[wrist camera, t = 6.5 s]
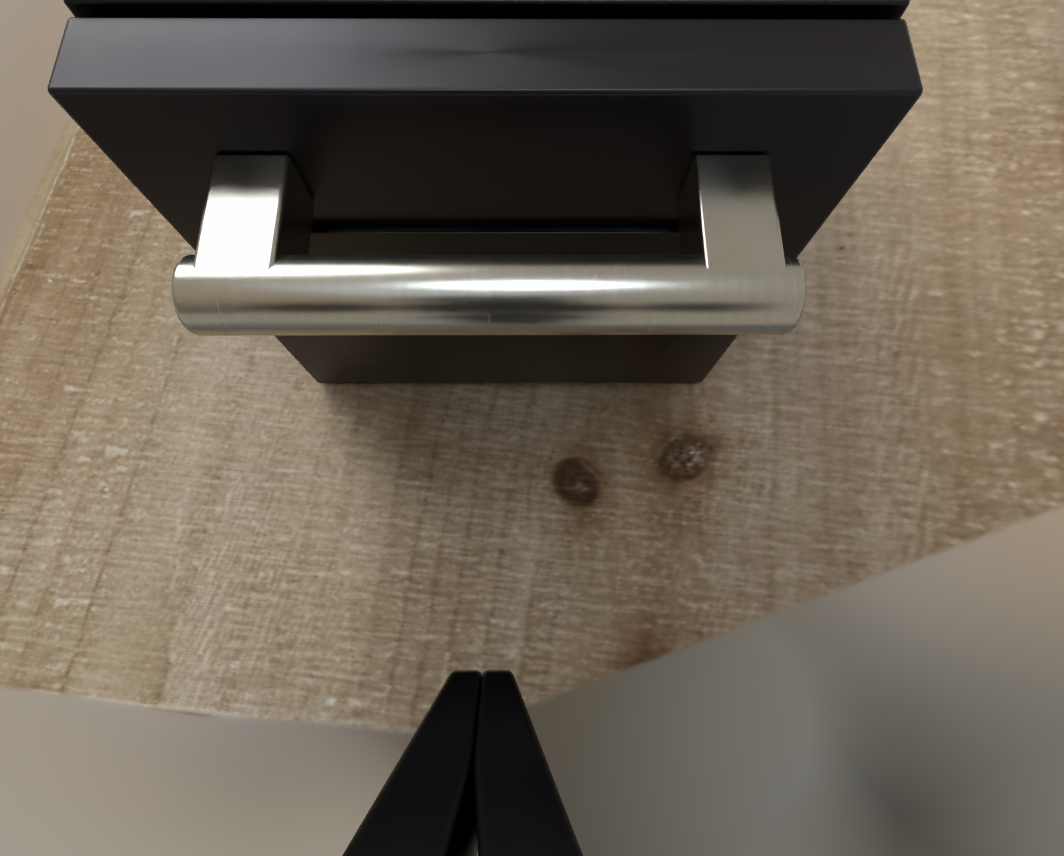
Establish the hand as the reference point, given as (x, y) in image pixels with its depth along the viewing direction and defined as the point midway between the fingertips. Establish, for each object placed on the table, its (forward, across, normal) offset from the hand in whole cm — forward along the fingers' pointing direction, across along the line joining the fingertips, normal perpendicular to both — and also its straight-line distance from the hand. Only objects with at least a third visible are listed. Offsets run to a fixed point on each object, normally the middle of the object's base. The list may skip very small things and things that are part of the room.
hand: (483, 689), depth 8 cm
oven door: (+14, 0, +2) cm, 14 cm away
